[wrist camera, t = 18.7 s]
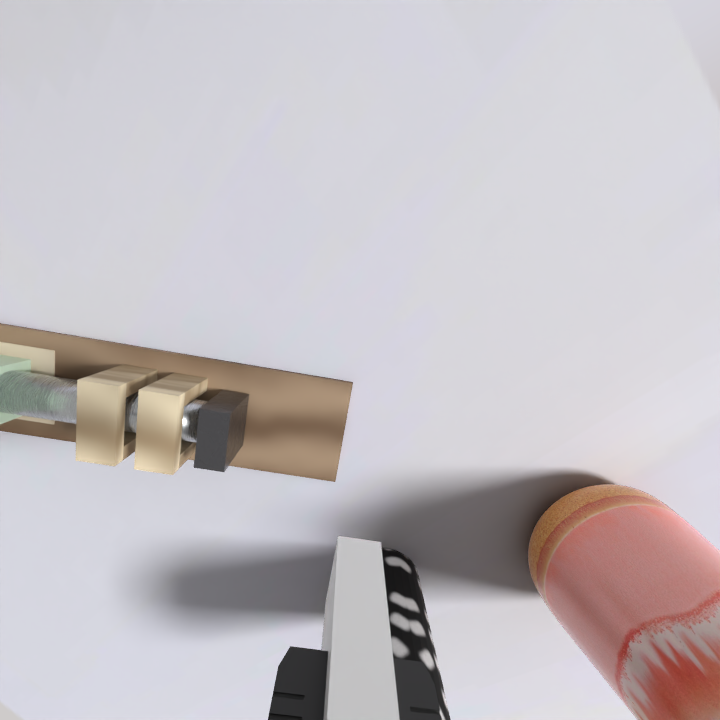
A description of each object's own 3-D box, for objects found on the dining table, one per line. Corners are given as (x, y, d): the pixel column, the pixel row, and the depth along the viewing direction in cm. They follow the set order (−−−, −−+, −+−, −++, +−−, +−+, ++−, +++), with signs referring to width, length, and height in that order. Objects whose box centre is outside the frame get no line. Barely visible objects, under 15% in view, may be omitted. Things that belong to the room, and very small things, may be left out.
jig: (-88, 308, 31) (-235, 316, 23) (352, 382, 33) (352, 411, 25) (-80, 415, 33) (-214, 455, 25) (335, 479, 35) (330, 534, 27)
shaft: (28, 358, 32) (-32, 371, 27) (249, 394, 32) (230, 413, 28) (29, 411, 32) (-29, 433, 28) (243, 444, 33) (224, 472, 29)
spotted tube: (428, 602, 38) (506, 932, 19) (355, 624, 39) (355, 969, 19) (405, 537, 37) (464, 826, 17) (329, 561, 37) (300, 869, 18)
